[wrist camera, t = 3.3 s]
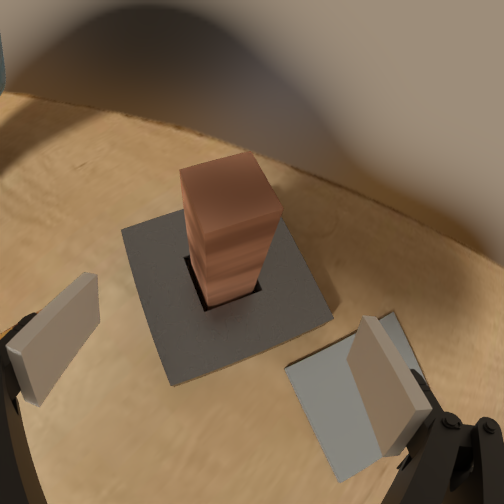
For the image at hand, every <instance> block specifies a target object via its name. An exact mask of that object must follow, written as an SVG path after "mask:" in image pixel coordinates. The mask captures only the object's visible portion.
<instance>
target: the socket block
mask: <svg viewBox="0 0 504 504" xmlns="http://www.w3.org/2000/svg"><path fill="white" fill-rule="evenodd" d="M121 232H122V236H123V240H124V244H125V248H126V252H127V256H128V259H129V263H130V267H131V270H132V274H133V277H134V281H135V284H136V288H137V291H138V294H139V297H140V301H141V304H142V307H143V310H144V313H145V316H146V319H147V322H148V325H149V328H150V331H151V334H152V337H153V340H154V343H155V346H156V348H157V351H158V354H159V357H160V359H161V362H162V365H163V367H164V370H165V372H166V375H167V378H168V380H169V383H170V385H171V386H174V387H175V386H178V385H181V384H184V383H187V382H189V381H192V380H195V379H198V378H200V377H203V376H206V375H209V374H211V373H214V372H216V371H219V370H222V369H224V368H227V367H229V366H232V365H234V364H237V363H239V362H242V361H244V360H247V359H249V358H252V357H254V356H256V355H259V354H261V353H264V352H266V351H268V350H271V349H273V348H275V347H278V346H280V345H282V344H284V343H287V342H289V341H291V340H293V339H295V338H298V337H300V336H302V335H304V334H306V333H308V332H311V331H313V330H315V329H317V328H319V327H321V326H323V325H325V324H327V323H328V322H330V321H331V320H332V319H334V317H333V315H332V313H331V311H330V309H329V307H328V305H327V303H326V301H325V299H324V297H323V295H322V293H321V291H320V289H319V287H318V285H317V283H316V282H315V280H314V278H313V276H312V274H311V272H310V270H309V268H308V266H307V264H306V262H305V260H304V258H303V256H302V254H301V253H300V251H299V249H298V247H297V245H296V243H295V241H294V239H293V237H292V236H291V234H290V232H289V230H288V228H287V226H286V224H285V222H284V221H283V219H282V217H280V220H279V223H278V226H277V228H276V231H275V234H274V236H273V239H272V242H271V244H270V247H269V250H268V252H267V255H266V258H265V260H264V263H263V266H262V268H261V271H260V274H259V276H258V279H257V282H256V284H255V287H254V291H255V293H254V294H252V295H249V296H246V297H244V298H241V299H238V300H236V301H233V302H230V303H228V304H225V305H222V306H220V307H217V308H214V309H212V310H209V311H206V312H204V310H203V308H202V305H201V303H200V300H199V297H198V295H197V292H196V290H195V287H194V285H193V282H192V279H191V277H190V274H189V271H188V269H187V268H189V267H192V265H191V258H190V251H189V244H188V237H187V230H186V222H185V214H184V209H182V210H179V211H176V212H173V213H169V214H166V215H163V216H160V217H157V218H154V219H151V220H148V221H145V222H142V223H139V224H136V225H133V226H130V227H128V228H125V229H122V230H121Z"/></svg>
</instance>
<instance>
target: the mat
mask: <svg viewBox="0 0 504 504" xmlns="http://www.w3.org/2000/svg"><path fill="white" fill-rule="evenodd" d="M379 322H380V323H381V325H382V327H383V328H384V330H385V331H386V333H387V334H388V336H389V337H390V339H391V341H392V342H393V344H394V345H395V347H396V348H397V350H398V352H399V353H400V355H401V356H402V358H403V360H404V361H405V363H406V365H407V366H408V368H409V369H415V370H416V371H417V372H418V373H419V374H420V375H421V376H422V377H423V378H424V376H423V374H422V371H421V369H420V367H419V365H418V362H417V360H416V358H415V356H414V354H413V351H412V349H411V347H410V345H409V343H408V341H407V339H406V336H405V334H404V332H403V330H402V328H401V326H400V324H399V322H398V320H397V318H396V316H395V314H394V312H392V313H390V314H389V315H387V316H385V317H383V318H382V319H380V320H379ZM355 335H356V333H355V334H353V335H351V336H349V337H347V338H346V339H344V340H342V341H340V342H338V343H336V344H334V345H332V346H330V347H328V348H326V349H324V350H322V351H320V352H318V353H316V354H314V355H312V356H310V357H308V358H306V359H304V360H302V361H300V362H298V363H295V364H293V365H291V366H289V367H287V368H285V372H286V374H287V376H288V378H289V380H290V382H291V384H292V387H293V389H294V391H295V393H296V395H297V397H298V399H299V401H300V404H301V406H302V408H303V410H304V412H305V414H306V416H307V418H308V420H309V422H310V425H311V427H312V429H313V431H314V433H315V435H316V437H317V439H318V441H319V443H320V445H321V448H322V450H323V452H324V454H325V456H326V458H327V460H328V462H329V464H330V466H331V468H332V470H333V472H334V474H335V476H336V478H337V480H338V482H339V483H341V482H343V481H345V480H347V479H348V478H350V477H352V476H353V475H355V474H357V473H358V472H360V471H362V470H363V469H365V468H366V467H368V466H369V465H371V464H373V463H374V462H376V461H377V460H379V459H380V458H382V457H383V456H382V453H381V450H380V448H379V445H378V442H377V439H376V436H375V434H374V431H373V428H372V425H371V423H370V420H369V417H368V414H367V412H366V409H365V406H364V404H363V401H362V398H361V396H360V393H359V391H358V388H357V385H356V383H355V380H354V378H353V375H352V373H351V370H350V367H349V365H348V362H347V360H346V359H347V356H348V354H349V351H350V348H351V346H352V343H353V341H354V338H355ZM424 380H425V378H424ZM425 382H426V381H425Z"/></svg>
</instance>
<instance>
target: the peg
mask: <svg viewBox="0 0 504 504" xmlns="http://www.w3.org/2000/svg"><path fill="white" fill-rule="evenodd" d="M179 171H180V180H181V189H182V198H183V206H184V214H185V222H186V230H187V237H188V244H189V251H190V258H191V265H192V271H193V274H194V277H195V279H196V282H197V285H198V287H199V290H200V292H201V295H202V297H203V300H204V302H205V305H206V307H207V310H208V311H209V310H212V309H214V308H217V307H220V306H222V305H225V304H228V303H230V302H233V301H236V300H238V299H241V298H244V297H246V296H249V295H252V292H253V290H254V287H255V284H256V282H257V279H258V276H259V274H260V271H261V268H262V266H263V263H264V260H265V258H266V255H267V252H268V250H269V247H270V244H271V242H272V239H273V236H274V234H275V231H276V228H277V226H278V223H279V220H280V217H281V215H282V212H283V209H284V208H283V207H282V205H281V203H280V201H279V200H278V198H277V196H276V194H275V192H274V191H273V189H272V187H271V185H270V184H269V182H268V180H267V178H266V177H265V175H264V173H263V171H262V170H261V168H260V166H259V164H258V163H257V161H256V159H255V157H254V156H253V154H252V152H251V151H249V152H245V153H240V154H236V155H232V156H228V157H224V158H220V159H216V160H213V161H209V162H205V163H201V164H198V165H194V166H191V167H187V168H184V169H180V170H179Z"/></svg>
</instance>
